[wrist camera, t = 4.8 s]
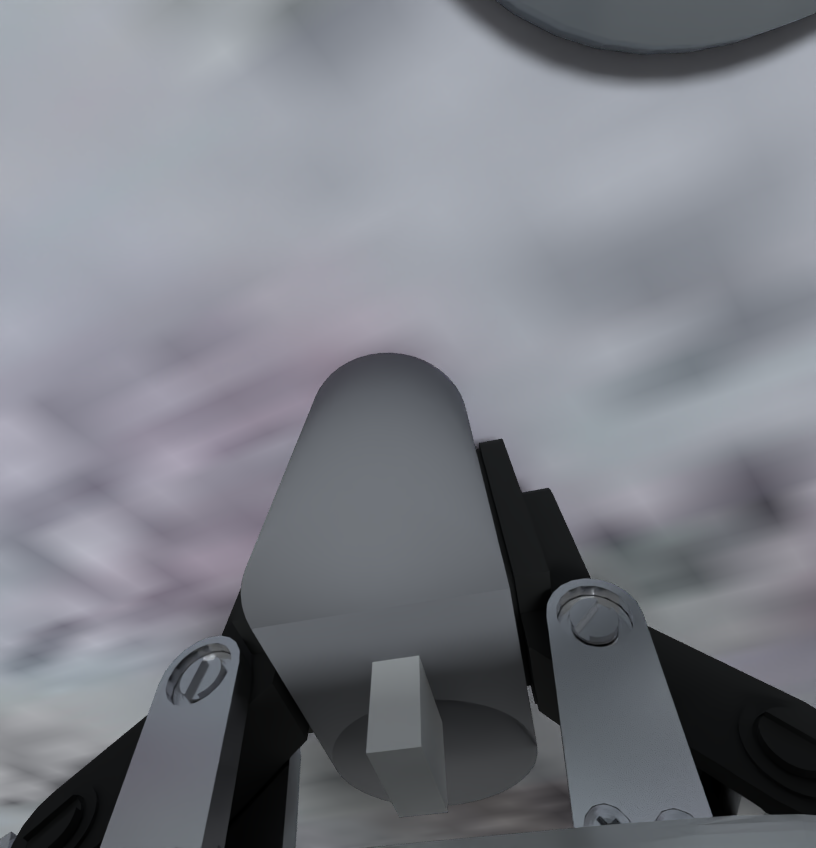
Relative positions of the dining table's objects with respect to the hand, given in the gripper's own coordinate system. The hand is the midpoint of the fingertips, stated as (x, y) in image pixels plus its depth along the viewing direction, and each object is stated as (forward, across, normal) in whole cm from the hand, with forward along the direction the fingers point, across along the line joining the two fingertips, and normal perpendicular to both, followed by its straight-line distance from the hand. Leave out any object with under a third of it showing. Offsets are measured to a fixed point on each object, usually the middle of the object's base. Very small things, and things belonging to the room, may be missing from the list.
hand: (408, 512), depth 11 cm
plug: (+1, 0, 0) cm, 1 cm away
